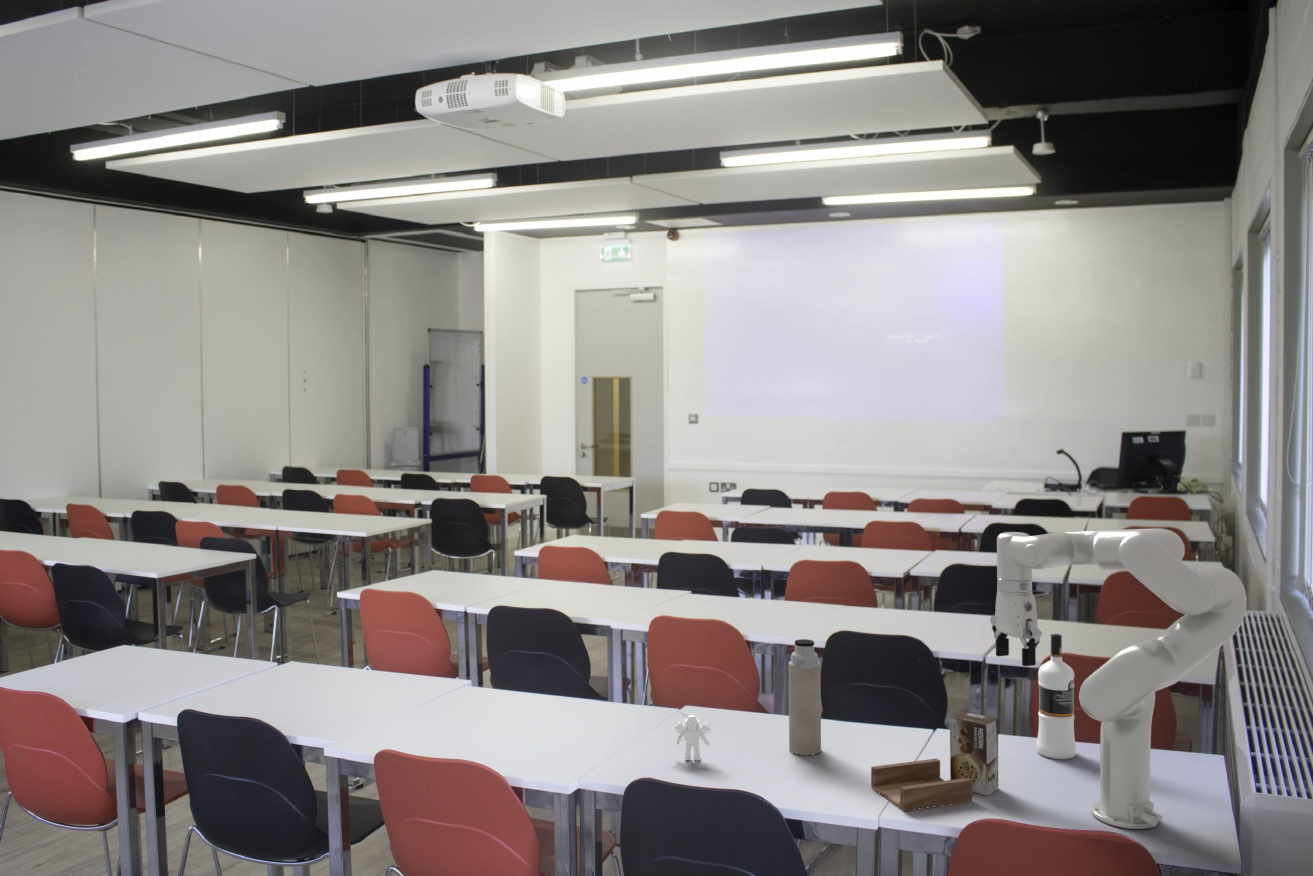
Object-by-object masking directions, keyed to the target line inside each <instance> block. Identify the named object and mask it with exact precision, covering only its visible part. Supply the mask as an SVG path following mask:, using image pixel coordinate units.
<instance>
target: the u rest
mask: <svg viewBox="0 0 1313 876" xmlns="http://www.w3.org/2000/svg"><path fill="white" fill-rule="evenodd" d="M870 769H871V771H870V775H871V776H870V777H871V778H870V779H871V781H870V782H871V783H870V785H871V786H870V787H873V788H874V789H875V790H877V791H878V792H880V793H881V794H882V795H884V796H885V797H886V798H887V799H888V800H887V799H886V798H885V797H884V798H885V799H886V800H887V801H888V802H890V803H891V804H893V805H894V804H895V805H894V806H896V807H897V808H898V807H899V810H901V809H902V810H903V811H902V810H901V811H902V812H904V811H905V812H908V811H907V810H912V811H914V810H913V809H919V808H926V809H928V808H927V807H933V806H939V807H942V806H941V805H946V806H951V805H950V804H953V805H959V803H960V804H966V803H972V802H973V792H972V780H971V779H970V778H962V779H955V780H948V779H947V780H944V779H943V778H941V760H939V759H938V758H930V759H929V758H928V759H922V760H914V761H906V762H900V763H891V764H883V765H875V766H871V768H870ZM874 789H873V790H874ZM875 790H874V791H875ZM877 791H876V792H877ZM878 792H877V793H878ZM881 794H880V795H881ZM882 795H881V796H882ZM933 808H934V807H933ZM919 810H920V809H919Z"/></svg>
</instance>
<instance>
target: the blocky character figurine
mask: <svg viewBox="0 0 1313 876" xmlns="http://www.w3.org/2000/svg"><path fill="white" fill-rule="evenodd" d="M680 716H681V717H684V722H685V724H684V722H682V721H680V720H678V721H677V722H675V724H676V725H674V726H673V727H674V728H675V729H674V731H675V732H676V733H677V734H678V736H677V739H676V744H677V745H680V744H681V742H684V741H685V754H684V760H685V759H687V760H690V759H691V760H692V748H693V751H694V752H693V761H694V760H700V759H702V758H701V753H700V752H701V751H700V742H699V741H700V739H701V740H702V741H703V743H704V744H706V747H708V746H709V745H710V741H709V740H708V738H707V736H706V734H708V732H709V733H711V731H712V730H711V727H710V724H709V723H708V722H707V721H704V722H703V723H702V724H701V725H700V719H698V717H697V716H696V715H694V714H690V715H689V713H688V712H686V713H685V712H682V711H681V712H680ZM691 760H690V761H691ZM700 761H701V760H700Z"/></svg>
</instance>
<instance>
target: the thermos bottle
mask: <svg viewBox="0 0 1313 876" xmlns="http://www.w3.org/2000/svg"><path fill="white" fill-rule="evenodd" d="M794 645H795V646H794V651H793V652H791V655H790V656H791V657H790V661H788V749H789V752H790V751H791V752H790V753H792V752H793V753H795V754H794V755H797V754H800V755H799V756H802V755H812V756H814V755H813V754H817V753H819V752H820V751H821V752H822V711H821V710H822V697H821V694H822V693H821V690H822V689H821V688H822V687H821V686H822V685H821V683H822V682H821V681H822V680H821V677H822V675H821V674H822V673H821V670H822V669H821V667H822V666H821V665H822V664H821V662H820V661H819V660H818V659H819V655H818V653H817V652H815V646H814V645H815V641H814V640H812V639H807V638H806V639H805V638H801V639H796V640H794ZM821 752H820V753H821ZM793 753H792V754H793ZM820 753H819V754H820ZM817 755H818V754H817Z"/></svg>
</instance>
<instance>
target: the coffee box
mask: <svg viewBox="0 0 1313 876" xmlns="http://www.w3.org/2000/svg"><path fill="white" fill-rule="evenodd" d="M948 719H949V754H950V755H949V758H950V759H949V762H950V764H949V765H950V768H949V769H950V771H949V772H950V777H949V778H950V780H955V779H962V778H970V779H971V780H972V793H976V794H979V795H980V794H981V795H984V796H989V795H991V794H992V793H994V792H995V791H997V790H998V789H999V718H998V717H995V716H994V717H993V716H989V715H984V714H980V713H974V712H969V711H963V710H960V711H958V712H956V713H954V715H952V716H950V717H949V718H948Z"/></svg>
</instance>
